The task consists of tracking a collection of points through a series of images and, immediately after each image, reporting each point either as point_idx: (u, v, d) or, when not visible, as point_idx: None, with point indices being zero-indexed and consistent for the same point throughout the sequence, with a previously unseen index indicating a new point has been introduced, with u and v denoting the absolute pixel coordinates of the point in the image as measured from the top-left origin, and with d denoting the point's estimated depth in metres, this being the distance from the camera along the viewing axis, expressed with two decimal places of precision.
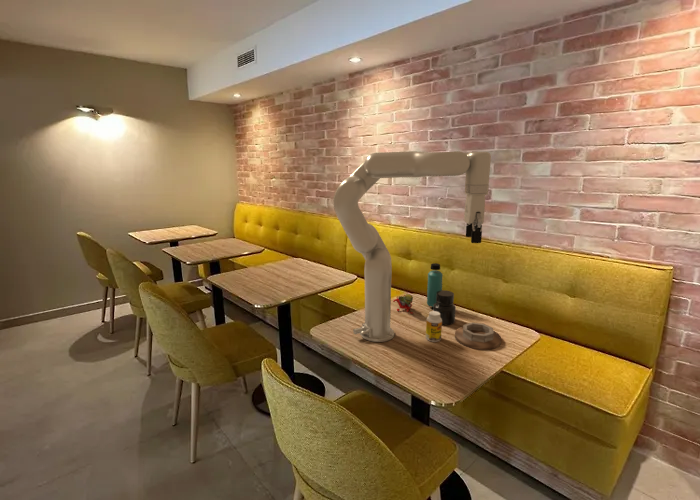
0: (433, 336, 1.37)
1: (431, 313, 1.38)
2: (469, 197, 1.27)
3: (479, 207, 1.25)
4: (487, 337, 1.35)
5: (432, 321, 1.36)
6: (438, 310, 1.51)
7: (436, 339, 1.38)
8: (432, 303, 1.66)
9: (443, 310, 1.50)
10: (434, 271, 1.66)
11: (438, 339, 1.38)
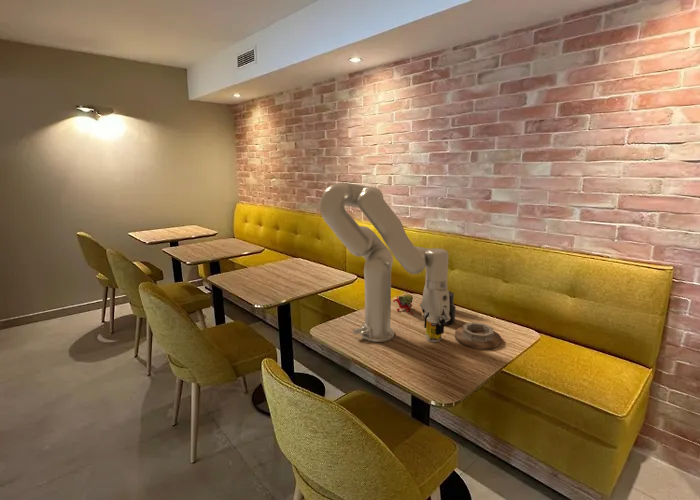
0: (433, 336, 1.37)
1: None
2: None
3: None
4: (487, 337, 1.35)
5: (432, 321, 1.36)
6: None
7: (436, 339, 1.38)
8: None
9: None
10: None
11: (438, 339, 1.38)
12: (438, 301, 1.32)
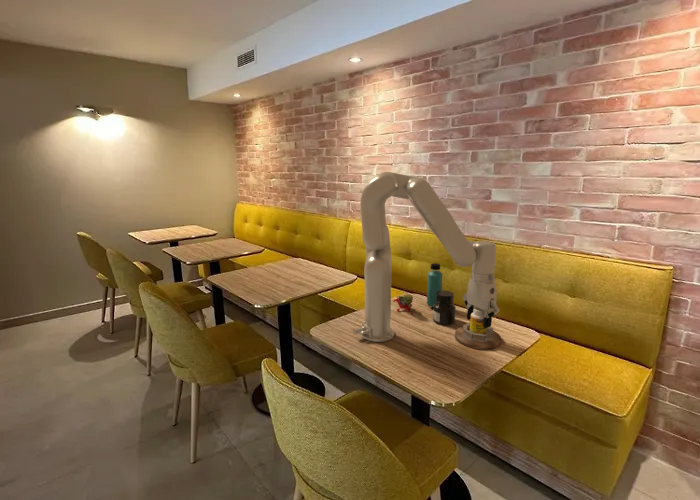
0: (478, 332, 1.37)
1: (476, 309, 1.37)
2: None
3: None
4: (487, 337, 1.35)
5: (478, 317, 1.36)
6: (438, 310, 1.51)
7: None
8: (432, 303, 1.66)
9: (443, 310, 1.50)
10: (434, 271, 1.66)
11: None
12: (485, 294, 1.31)
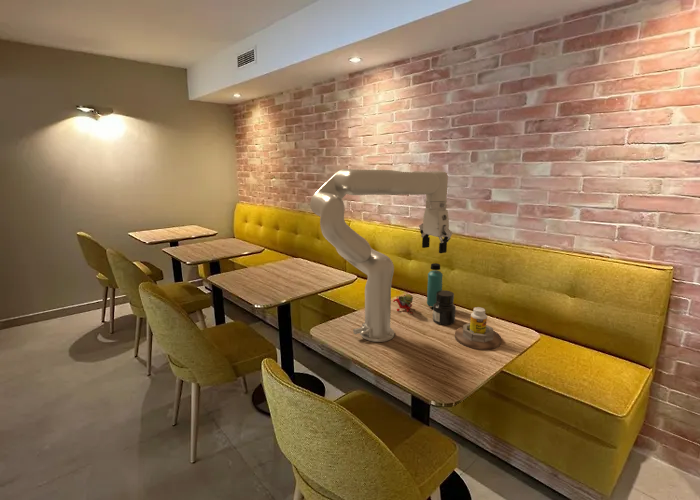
0: (478, 332, 1.37)
1: (476, 309, 1.37)
2: None
3: None
4: (487, 337, 1.35)
5: (478, 317, 1.36)
6: (438, 310, 1.51)
7: None
8: (432, 303, 1.66)
9: (443, 310, 1.50)
10: (434, 271, 1.66)
11: None
12: (438, 220, 1.39)
